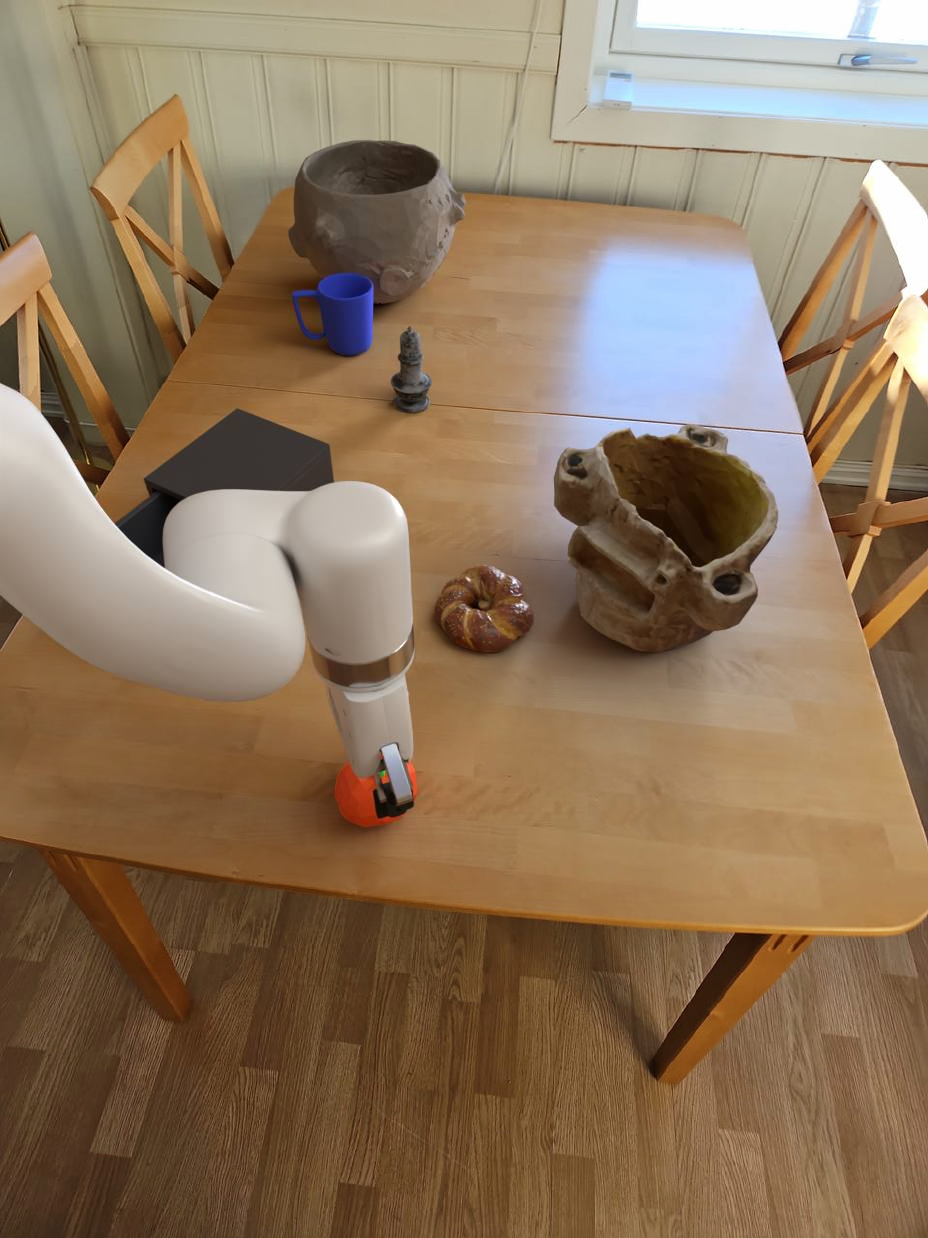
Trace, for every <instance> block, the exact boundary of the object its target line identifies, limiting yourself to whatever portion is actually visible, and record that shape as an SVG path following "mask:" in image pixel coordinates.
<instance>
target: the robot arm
mask: <svg viewBox="0 0 928 1238" xmlns="http://www.w3.org/2000/svg"><path fill="white" fill-rule="evenodd" d="M114 523H115V522H113V520H112V519H111V518H110V517H109V516H108V514H107V513H106V512H105V510H104V509H103V508H102V507H101V505H100V504H99V502H98V500H97V499H96V498H95V496H94V495H93V494H92V491H91V490H90V488H89V487H88V485H87V483H86V481H85V479H84V478H83V476H82V475H81V473H80V471H79V470H78V468H77V466H76V464H75V463H74V461H73V458H72V457H71V456H70V454H69V451H68V450H67V449H66V447H65V445H64V444H63V442H62V440H61V439H60V437H59V436H58V434H57V433H56V431H55V430H54V429H53V427H52V426H51V424H50V423H49V421H48V420H47V418H46V417H45V416H44V415H43V414H42V412H41V410H39V409H38V407H37V406H36V405H35V404H34V403H33V402H32V401H30V400H29V399H28V398H27V397H26V396H24V395H23V394H22V393H20V392H18V391H17V390H15V389H14V388H12V387H9V386H7V385H5V384H3V383H1V382H0V596H1V597H2V598H3V599H4V600H5V601H6V602H7V603H9V605H11V606H12V607H13V608H14V609H16V610H17V611H18V612H19V613H20V614H21V615H23V616H24V617H25V618H27V619H28V620H29V621H30V622H31V623H33V625H35V626H36V627H37V628H38V629H40V630H41V631H43V632H44V633H45V634H46V635H47V636H49V637H50V638H51V639H52V640H54V641H55V642H56V643H58V644H59V645H60V646H62V648H65V649H66V650H68V651H69V652H70V653H72V654H73V655H75V656H76V657H78V659H81V660H83V661H84V662H86V663H88V664H89V665H91V666H92V667H95V668H96V669H98V670H101V671H103V672H104V673H107V674H110V675H112V676H116V677H118V678H120V679H123V680H126V681H127V680H128V681H130V682H133V683H137V684H140V685H143V686H146V687H150V688H153V689H157V690H161V691H164V692H168V693H170V694H175V695H179V696H183V697H186V698H191V699H196V700H201V701H207V702H217V703H244V702H250V701H256V700H260V699H264V698H266V697H268V696H270V695H273V694H274V693H277V692H278V691H280V690H281V689H282V688H284V687H286V686H287V685H288V684H289V683H290V682H291V681H292V679H293V678H294V677H295V676H296V675H297V673H298V671H299V670H300V668H301V665H302V664H303V661H304V658H305V657H304V656H305V652H306V643H307V642H308V648H309V653H310V657H311V663H312V667H313V669H314V670H315V672H316V674H317V675H318V677H319V678H320V679H322V681H323V682H324V687H325V694H326V697H327V701H328V704H329V708H330V711H331V713H332V717H333V720H334V723H335V725H336V728H337V731H338V734H339V737H340V740H341V743H342V746H343V748H344V752H345V754H346V757H347V760H348V762H349V763H350V765H351V768H352V770H353V772H354V774H355V775H356V776H357V777H359V778H361V779H363V778H368V777H371V776H373V780H374V783H375V787H376V789H374V791H373V797H374V804H375V811H376V815H377V818H378V819H381V818H385V817H388V816H389V817H391V818H394V817H397V816H400V815H403V814H404V813H405V812H406V813H407V811H409V810H411V809H412V808H414V806H415V799H414V798H413V796H414V795H413V783H412V781H411V778H410V775H409V771H408V767H407V763H408V764H409V762H411V761H412V760H413V756H414V750H415V749H414V746H415V745H414V733H413V731H414V730H413V724H412V723H413V721H412V715H411V706H410V699H409V696H410V693H409V691H408V687H407V686H408V685H407V679H406V673H407V672H408V671H409V669H410V667H411V666H412V664H413V662H414V657H415V628H414V612H413V611H414V610H413V609H414V608H413V595H412V577H411V574H412V573H411V557H410V556H411V555H410V534H409V526H408V525H409V523H408V519H407V516H406V513H405V511H404V508H403V507H402V506H401V503H400V502H399V501H398V499H397V498H396V497H395V496H393V495H392V493H390V492H389V491H387V490H386V489H384V488H383V487H381V486H378V485H376V484H373V483H369V482H365V481H357V480H343V481H342V480H341V481H334V483H330V484H327V485H324V486H321V487H318V488H316V489H314V490H312V491H265V490H242V489H222V490H212V491H206V492H202V493H198V494H194V495H192V496H189V497H187V498H185V499H184V500H182V501H181V502H179V503H178V504H177V505H176V506H175V507H174V508H173V509H172V510H171V511H170V513H169V515H168V516H167V518H166V521H165V524H164V528H163V553H164V565H165V568H163V567H162V566H160V565H159V564H158V563H156V562H155V561H154V560H152V559H151V558H150V557H148V556H147V555H146V554H144V553H143V552H142V551H141V550H140V549H139V548H138V547H137V546H135V545H134V544H133V543H132V542H131V541H130V540H129V539H128V538H127V537H126V536H125V535H124V534H123V533H122V532H121V531H120V530H119V528H118V527H117V526H116V525H115V524H114ZM306 637H307V642H306ZM379 752H380V753H381V756H382V759H381V760H380V754H379ZM406 762H407V763H406ZM385 770H386V772H387V775H388V779H389V782H387V783H384V784H383V783H382V779H381V775H380V772H381V771H385ZM406 813H405V814H406ZM405 814H404V815H405ZM404 815H403V816H404Z"/></svg>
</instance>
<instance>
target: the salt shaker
mask: <svg viewBox="0 0 928 1238" xmlns="http://www.w3.org/2000/svg"><path fill="white" fill-rule="evenodd" d="M421 345H422V344H421V335H420V333H418V332H417V331H415V330H413V327H412V326H411V325H409V326H408V327H407V330H405V331H403V332H402V333H401V334H400V336H399V351H400V352H399V353H398V355H397V360H398V361H399V366H400V367H399V368H400V369H399V371H398V372H396V373H394V374H393V375H392V377H390V385H391V387H392V389H393V391H394V393H395V395H396V396H395V397H394V398H393V405H394V406H393V407H394V408H396V410H398V411H400V412H402V413H406V414H418V413H422V412H424V411H425V410H427V409H428V408H429V407H430V405H431V400H430V398H429V396H427V395H428V394H429V391H430V388H431V386H432V384H433V379H432V377H431V376H430V375H429V374H428V373H426V372H425V371H423V370H422V361H423V360H424V354H423V353H422V352H421V351H422V349H421V347H422V346H421Z"/></svg>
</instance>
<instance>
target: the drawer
mask: <svg viewBox="0 0 928 1238" xmlns="http://www.w3.org/2000/svg"><path fill="white" fill-rule="evenodd" d="M179 502H181V500H179V499H176V498H174V497H172V496H170V495H167V494H165V493H163V492H161V491H159V490H157V491H156V492H154V493H153V494H152V495H151V496H149V495H148V497H146V498H145V499H144V500H143V501H141V502H140V503H139V504H138V505H136V506H135V507H133V508H132V509H131V510H130V511H128V512H127V513H126V514H125V515H124V516H122V517H121V518H119V519H118V520H116V521H115V522H113V523H114V524H115V525H116V526H117V527H118V528H119V530H120V531H121V532H122V533H123V534H124V535H125V536H126V537H127V538H128V539H129V540H130V541H131V542H132V543H133V544H134V545H135V546H137V547H138V548H139V549H140V550H141V551H142V552H143V553H144V554H146V555H147V556H148V557H150V558H151V559H152V560H154V561H155V562H156V563H158V564H159V565H160V566H162V567H163V568H165V565H164V553H163V528H164V524H165V521H166V518H167V516H168V515H169V513H170V511H171V510H172V509H173V508H174V507H175V506H176V505H177V504H178V503H179Z"/></svg>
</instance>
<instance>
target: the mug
mask: <svg viewBox="0 0 928 1238" xmlns="http://www.w3.org/2000/svg"><path fill="white" fill-rule="evenodd" d="M306 297H307V298H314V299H315V300H316V302H317V304H318V307H319V313H320V317H321V324H322V329H323V332H320V333H313V332H311V331H310V330H309V329H308V328H307V327H306V325H305V323H304V321H303V317H302V314H301V310H300V306H299V300H298V298H306ZM291 299H292V303H293V308H294V311H295V316H296V320H297V323H298V325H299V328H300V330H301V332H302V333H303V335H304V336H305V337H306V338H308V339H310V340H312V341H319V340H322V339H323V338H325V339H326V340H327V343H328V346H329V348H330V349H331V350H332V351H333V352H335V353H336V354H339V355H341V356H358V355H361V354H363V353H365V352H367V351H368V350H369V349H370V347H371V346H372V342H373V332H374V331H373V329H374V328H373V327H374V326H373V325H374V323H373V321H374V303H373V283H372V282H371V280H370V279H368V278H367V277H365V276H362V275H359V274H354V273H338V274H334V275H330V276H328V277H326V278H324V279H322V278H321V280H320V281H319V282H318V284H317V289H300V290H295V291H293V292H292V294H291Z"/></svg>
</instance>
